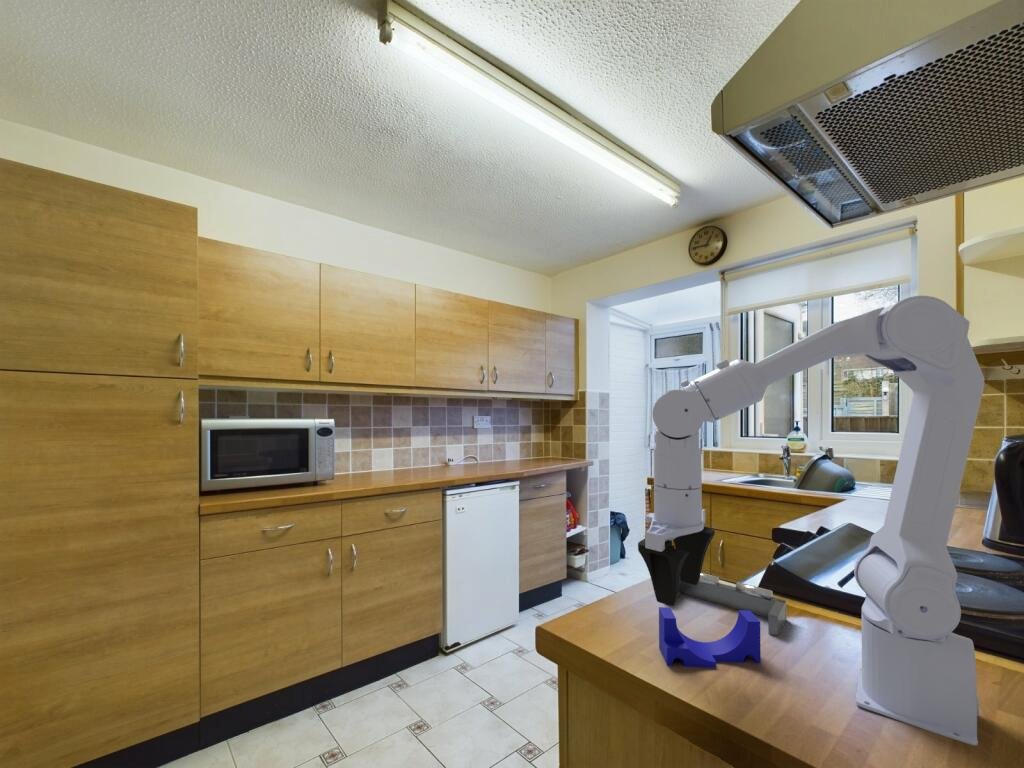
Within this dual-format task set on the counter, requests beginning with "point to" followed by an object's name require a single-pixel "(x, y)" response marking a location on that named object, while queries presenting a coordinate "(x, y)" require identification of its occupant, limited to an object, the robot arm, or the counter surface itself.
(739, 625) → the blue pipe saddle
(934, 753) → the counter surface
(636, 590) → the counter surface
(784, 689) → the counter surface
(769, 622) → the hinge bracket
